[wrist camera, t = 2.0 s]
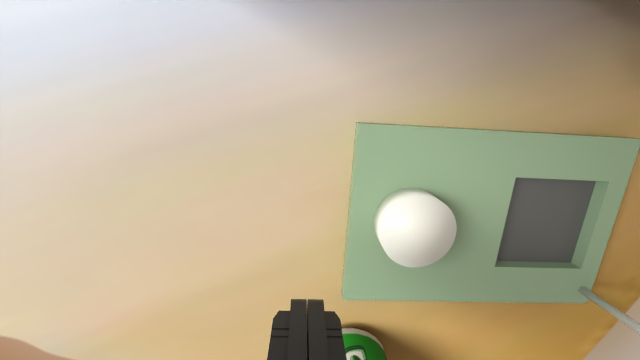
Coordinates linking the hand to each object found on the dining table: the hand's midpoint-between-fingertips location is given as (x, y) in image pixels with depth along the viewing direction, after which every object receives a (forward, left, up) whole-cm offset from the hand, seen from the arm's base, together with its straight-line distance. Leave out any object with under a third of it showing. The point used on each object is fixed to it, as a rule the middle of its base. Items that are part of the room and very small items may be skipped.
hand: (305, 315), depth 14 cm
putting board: (0, +16, -13) cm, 20 cm away
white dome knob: (0, +9, -12) cm, 15 cm away
